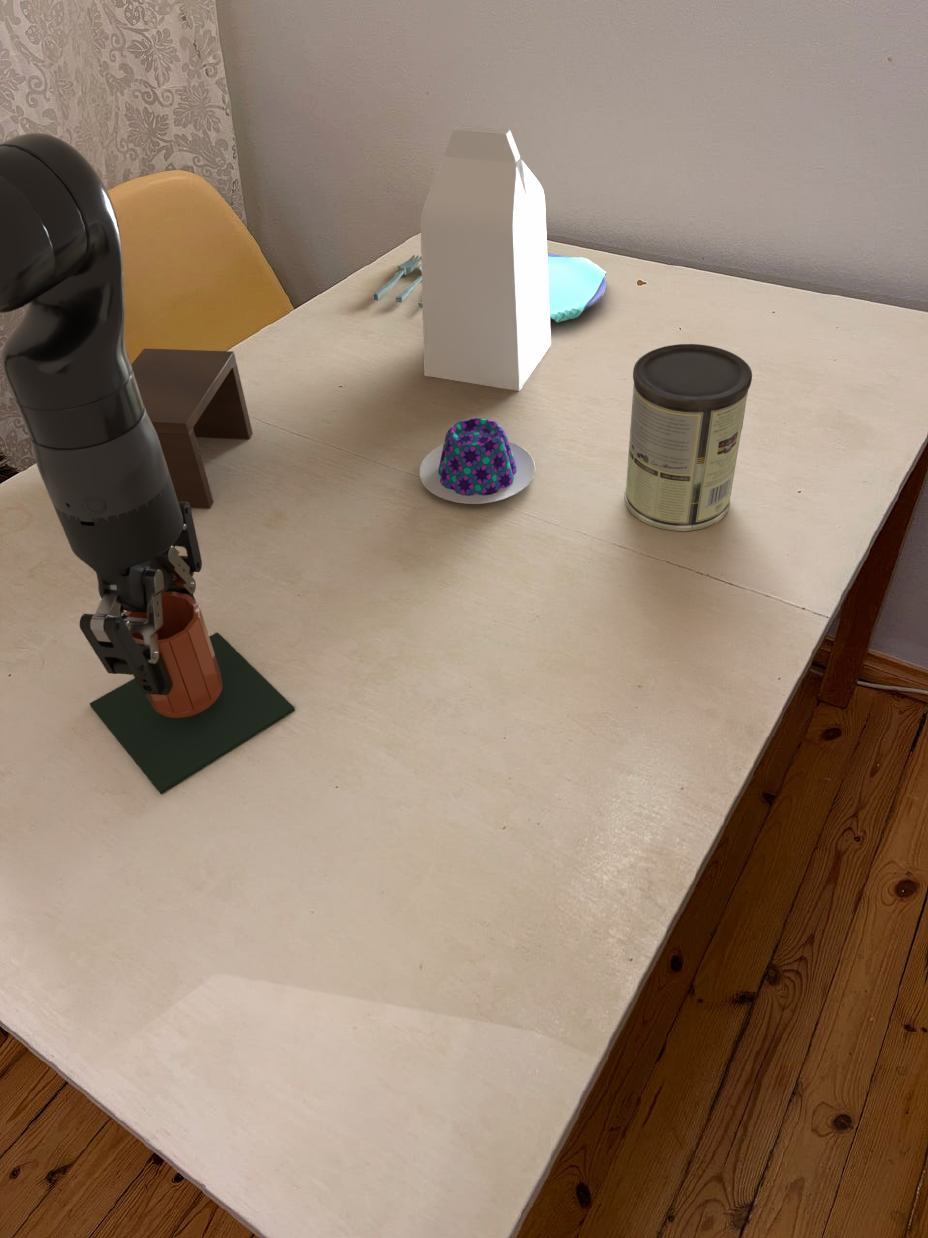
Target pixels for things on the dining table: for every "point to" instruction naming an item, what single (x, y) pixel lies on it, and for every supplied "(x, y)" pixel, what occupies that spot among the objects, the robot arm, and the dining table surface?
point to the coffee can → (685, 435)
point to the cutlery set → (567, 277)
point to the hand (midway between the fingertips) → (174, 659)
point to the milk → (484, 264)
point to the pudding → (477, 464)
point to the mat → (193, 721)
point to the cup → (184, 658)
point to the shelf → (191, 410)
